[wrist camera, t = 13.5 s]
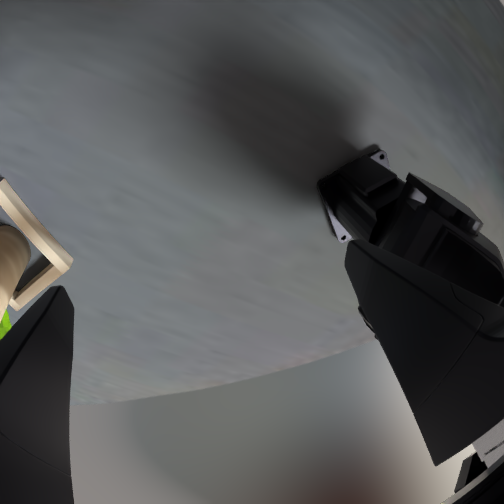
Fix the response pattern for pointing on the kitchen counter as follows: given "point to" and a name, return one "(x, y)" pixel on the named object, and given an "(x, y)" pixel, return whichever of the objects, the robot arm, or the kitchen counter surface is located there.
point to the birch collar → (41, 239)
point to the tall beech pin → (11, 262)
